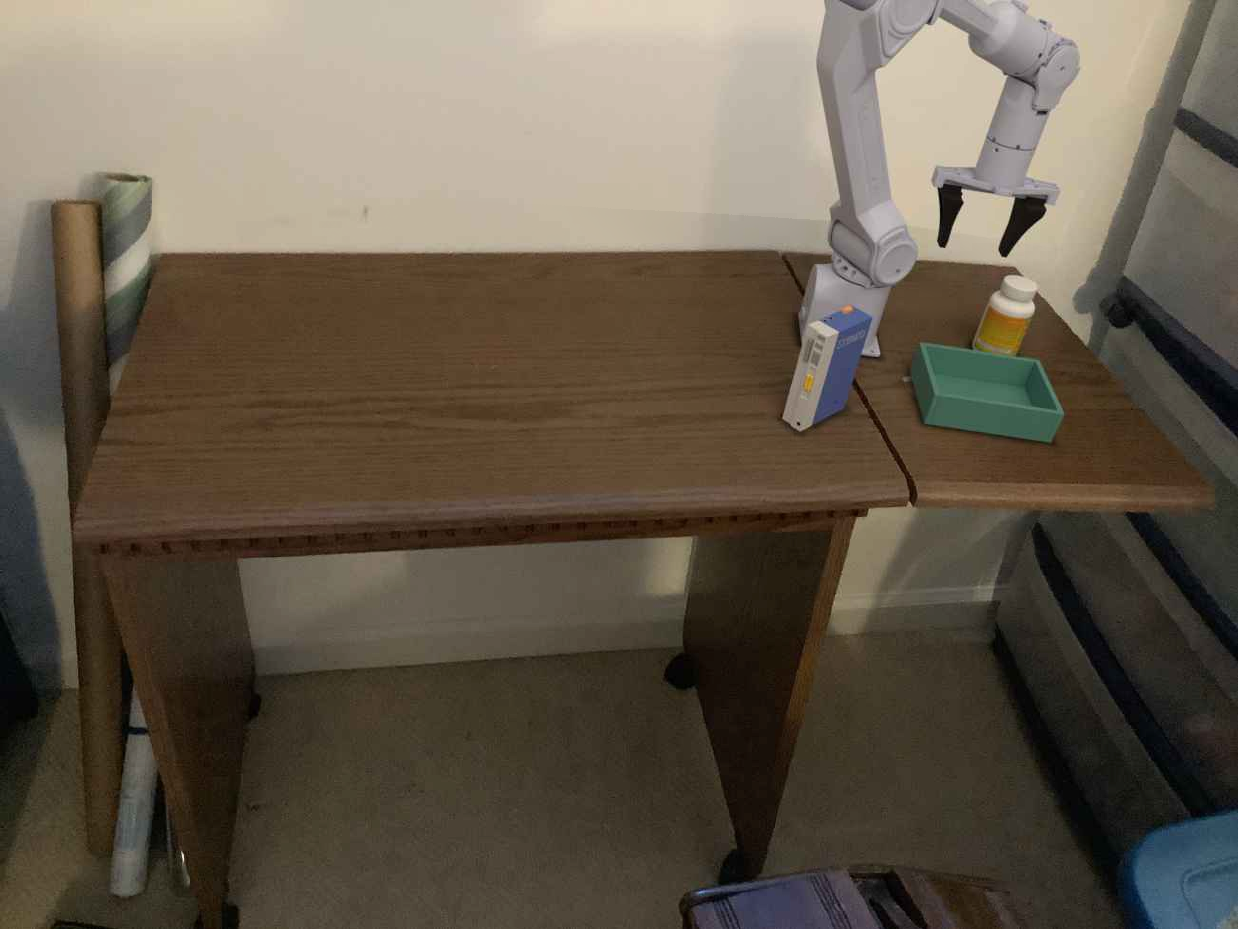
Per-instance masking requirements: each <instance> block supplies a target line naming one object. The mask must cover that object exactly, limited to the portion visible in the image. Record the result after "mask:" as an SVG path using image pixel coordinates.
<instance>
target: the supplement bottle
mask: <svg viewBox="0 0 1238 929" xmlns="http://www.w3.org/2000/svg"><path fill="white" fill-rule="evenodd" d="M1038 288H1039V287H1038V284H1037V283H1036V282H1035V281H1033V280H1032V279H1030V278H1027V277H1024V276H1021V275H1018V274H1017V275H1016V274H1008V275H1006V276H1004V278H1003V280H1002V282H1001V284H1000V289H999V290H997V291H995V292H993V293H992V294H991V296H990V297H989V299H988V302H987V304H986V307H985V309H984V311H983V315H982V317H981V319H980V322H979V324H978V326H977V330H976V332H975V334H974V338H973V340H972V344H971V347H972V350H976V351H983V352H989V353H996V354H1002V355H1009V356H1016V357H1017V354H1018V351H1019V349H1020V347H1021V344H1022V342H1023V340H1024V338H1025V335H1026V333H1027V331H1028V328H1029V326H1030V323H1031V321H1032V319H1033V316H1034V314H1035V311H1036V305H1035V303H1034V301H1033V300H1034V298H1035V297H1036V294H1037V291H1038Z"/></svg>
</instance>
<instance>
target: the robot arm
mask: <svg viewBox="0 0 1238 929" xmlns="http://www.w3.org/2000/svg"><path fill="white" fill-rule="evenodd" d="M823 3H824V10H825V12H824V17H823V21H822V27H821V33H820V37H819V43H818V47H817V53H816V59H815V61H816V65H815V66H816V72H817V79H818V85H819V89H820V95H821V101H822V106H823V112H824V117H825V123H826V128H827V133H828V138H829V146H830V151H831V156H832V157H831V158H832V162H833V168H834V173H835V178H836V184H837V188H838V189H837V190H838V196H839V198H838V199H837V200H836V201H835V202H834V203H833V204H832V205H831V206H830V207H829V215H830V223H829V227H828V230H827V243H828V245H829V247H830V249H832V253H831V257H830V260H831V261H832V262H831V263H814V264H813V266H812V268H811V270H810V274H809V277H808V281H807V284H806V288H805V292H804V296H803V299H802V304H801V306H800V310H799V312H798V315H797V317H798V324H799V325H798V326H799V332H800V333H799V334H800V343H801V345H802V344H803V340H804V337H805V333H806V329H807V326H808V325H809V324H811V323H813V322H816V321H818V320H820V319H822V318H825V317H827V316H829V315H832V314H834V313H837V312H839V311H841V310H842V309H843V308H845V307H847V306H854V307H855V308H857V309H859V310H861V311H863V312H865V313H866V314H868V315H870V316H872V317H873V318H872V322H871V325H870V328H869V331H868V334H867V337H866V341H865V344H864V347H863V350H862V353H861V356H866V357H872V358H879V357H880V356H881V350H880V346H879V342H878V341H879V340H878V336H877V332H878V329H879V327H880V323H881V319H882V317H883V313H884V310H885V307H886V304H887V302H888V299H889V295H890V292H891V289H892V286H896V285H897V284H898V283H899V282H901V281H902V280H903V279H904V278H905V277H906V276H907V275H908V274H910V272H911V270H912V269H913V267H914V266H915V263H916V261H917V258H918V252H919V249H918V244H917V242H916V240H915V239H914V238H913V237H912V236H911V235H910V232H909V229H908V223H907V221H906V220H905V218H904V216H903V214H902V212H900V210H899V209H898V207H897V205H896V204H895V202H894V200H893V198H892V192H891V184H890V176H889V169H888V163H887V162H888V160H887V155H886V154H887V152H886V146H885V140H884V132H883V124H882V117H881V108H880V102H879V94H878V87H877V80H876V72H877V70H878V69H881V68H885V67H886V66H887V65H888V64H889V63H890V62H891V61H892V60H893V59H894V58H895V57H896V56H897V55H898V54H899V53H900V51H901V50H903V49H904V48H905V47H906V45H907V44H908V43H909V42H911V40H912V39H913V38H914V37H915V36H917V34H918V33H919V32H921V30H922V29H923V28H924V27H925V25H927V26H934V25H935V23H936V22H937V21H938V19H941V20H943V21H945V22H946V23H948V24H950V25H952V26H953V27H955V28H956V29H958V30H961V31H962V32H964V33H966V34H967V37H968V38H967V42H968V47H969V49H970V51H971V52H972V53H973V54H974V55H975V56H977V57H978V58H981V59H982V60H983V61H986V62H987V63H989V64H990V65H992V66H993V67H995V68H997V69H999V70H1000V71H1001V73H1002V75H1003V76H1006V78H1005V81H1004V84H1003V87H1002V90H1001V93H1000V96H999V99H998V102H997V104H996V107H995V110H994V113H993V115H992V118H991V121H990V124H989V127H988V130H987V133H986V135H985V139H984V141H983V145H982V147H981V150H980V152H979V156H978V159H977V161H976V164H975V166H945V165H935V167H934V170H933V173H932V176H931V179H930V181H931V184H932V186H933V187H934V188H937V195H938V205H939V206H938V207H939V222H938V223H939V224H938V232H937V239H936V242H937V244H938V247H939V248H941V249H946V248H947V245H948V243H949V240H950V237H951V235H952V234H951V233H952V232H953V231H952V230H953V228H954V224H955V223H956V222H955V221H956V220H957V218H958V215H959V213H960V211H961V209H962V207H963V206H964V204H965V201H964V200H963V198H962V197H963V194H964V193H963V190H966V191H971V192H979V193H984V194H991V195H996V196H1001V197H1007V198H1011V197H1012V198H1014V200H1013V204H1012V208H1011V211H1010V215H1009V219H1008V221H1007V224H1006V227H1005V230H1004V231H1003V234H1002V237H1001V239H1000V241H999V245H998V248H997V251H998V253H999V255H1000V257H1001V258H1008V256H1009V255H1010V254H1011V252H1012V250H1013V249H1014V247H1015V246H1016V245H1017V243H1018V242H1020V240H1021V239H1022V238H1023V236H1024V235H1025V234H1026V233H1027V232H1028V231H1029V230H1030V229H1031V228H1032V227H1033V226H1034V225H1035V224H1037V223H1038V222H1039V221H1040V220H1042V219H1043V218H1044V217H1045V215H1046V213H1047V210H1048V209H1047V207H1046V205H1050V206H1055V205H1056V203H1057V201H1058V198H1059V196H1060V193H1061V188H1060V187H1059V186H1058V184H1057V183H1055V182H1048V181H1044V180H1040V179H1036V178H1033V177H1029V176H1027V173H1028V171H1029V168H1030V166H1031V163H1032V160H1033V157H1034V155H1035V153H1036V150H1037V148H1038V146H1039V142H1040V140H1041V137H1042V134H1043V132H1044V130H1045V127H1046V124H1047V121H1048V119H1049V116H1050V113H1051V112H1052V110H1054V109H1055V108H1056V106H1057V105H1059V103H1060V101H1061V98H1062V97H1063V94H1064V93H1065V91H1066V90H1067V89H1068V88H1069V87H1070V86H1071V85H1072V84H1073V82H1074V81H1075V80H1076V78H1077V76H1078V75H1079V73H1080V71H1081V68H1082V67H1081V66H1080V62H1081V57H1080V51H1079V50H1078V45H1077V43H1076V42H1075V41H1074V40H1072V39H1070V38H1067V37H1066V36H1063V35H1060V34H1059V33H1056V32H1053V31H1052V27H1053V24H1052V23H1051V22H1049V21H1048V20H1046V19H1044V18H1039V19H1036V18H1035V17H1033V16H1032V15H1030V14H1029V13H1028V12H1027V11H1028V10H1029V5H1028V4H1026V3H1025V2H1023V1H1021V0H1010V1H1009V0H996V1H993V2H991V3H987V2H986V1H985V0H823Z"/></svg>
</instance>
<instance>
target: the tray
mask: <svg viewBox="0 0 1238 929" xmlns="http://www.w3.org/2000/svg"><path fill="white" fill-rule="evenodd" d="M908 370H909V373H910V377H911V380H912V384H913V387H914V388H913V389H914V393H915V396H916V400H917V403H918V406H919V410H920V415H921V418H922V421H923V424H924V425H931V426H938V427H944V428H950V429H957V430H963V431H970V432H976V433H982V434H983V433H984V434H991V435H996V436H997V435H998V436H1004V437H1010V438H1017V439H1023V440H1030V441H1036V442H1042V443H1049V444H1051V443H1052V442H1053V439H1054V437H1055V435H1056V433H1057V431H1058V429H1059V427H1060V424H1061V423H1062V420H1063V419H1064V416H1065V412H1064V410H1063V408H1062V405H1061V403H1060V401H1059V399H1058V397H1057V395H1056V393H1055V390H1054V388H1053V386H1052V384H1051V382H1050V380H1049V378H1048V375H1047V374H1046V372H1045V369H1044V367H1043V365H1042V363H1041V361H1040V359H1034V358H1029V357H1021V356H1017V355H1016V356H1009V355H1002V354H996V353H989V352H983V351H976V350H974V349H970V348H962V347H957V346H956V347H955V346H949V345H944V344H936V343H929V342H923V341H919V342H918V344H917V347H916V350H915V353H914V356H913V358H912V361H911V364H910V367H909V369H908Z"/></svg>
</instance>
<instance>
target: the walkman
mask: <svg viewBox="0 0 1238 929" xmlns="http://www.w3.org/2000/svg"><path fill="white" fill-rule="evenodd" d="M872 318H873V317H872V316H870V315H868V314H866V313H865V312H863V311H861V310H859V309H857V308H855V307H854V306H847V307H845V308H843V309H842V310H841V311H839V312H837V313H834V314H832V315H829V316H827V317H825V318H822V319H820V320H818V321H816V322H813V323H811V324H809V325H808V326H807V329H806V333H805V337H804V340H803V344H802V343H801V348H800V352H799V355H798V359H797V361H796V366H795V369H794V374H793V376H792V377H793V378H792V381H791V385H790V389H789V393H788V395H787V399H786V403H785V406H784V411H783V415H782V418H781V419H782V420H784V421H785V422H786V423H788V424H790V426H791V427H792V428H793V429H795V430H797V431H798V432H802V431H805V430H807V429H808V428H810V427H812V426H814V425H815V424H817V423H819V422H821V421H823V420H825V419H827V418H829V417H830V416H833V415H834V414H836V413H838V412H841V411H842V410H844V409H845V406H846V403H847V402H848V398H849V394H850V391H851V389H852V385H853V382H854V378H855V375H856V372H857V369H858V365H859V363H860V359H861V357H862V355H861V353H862V350H863V347H864V344H865V341H866V337H867V334H868V331H869V328H870V325H871V322H872Z"/></svg>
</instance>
